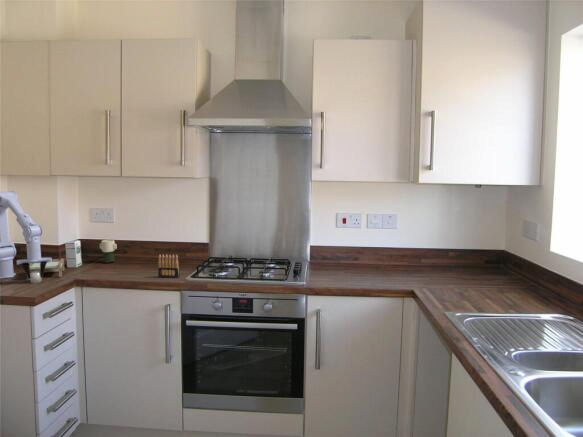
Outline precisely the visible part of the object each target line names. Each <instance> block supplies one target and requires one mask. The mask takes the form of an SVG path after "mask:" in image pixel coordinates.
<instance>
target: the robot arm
mask: <svg viewBox="0 0 583 437" xmlns="http://www.w3.org/2000/svg"><path fill="white" fill-rule="evenodd" d="M8 208H9V209H10V210H11V212H12V213H13V214H14V215H15V216H16V218H15V219H16V222H17V224H18V225H19V226H20V227H21V229H22V235H23V237H24V241H25V242H26V244H25V245H26V256H27V258H23V259H17V260H16V265H21V266H22V268H23V270H24V271H25V273H26V277H27V276H28V279H29V278H30V272H31V269H30V263H40V268H41V278H43V277H44V273H45V272H44V269H45V266H46V264H47V262H52V257H42V252H41V239H40V238H41V236H42V235H43V228H42V227H41V224H38V223H36V222H35V221H34V220H33V218H31V216H30V215H29V214H28V213H25V212H24V210H23V208H22V207H21V204H19V196H18V194H17V193H16V192H15V191H14V190H12V191H11V190H10V191H0V279H10V278H14V277H15V276H16V275H17V274H16V272H15V271H14V260H15V257H16V254H17V249H16V247H15V246H16V245H15V243H14V242H13V241H11V240H10V238H9V236H10V235H9V228H8V218H7V209H8ZM13 259H14V260H13ZM37 261H38V262H37Z"/></svg>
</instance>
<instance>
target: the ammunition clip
mask: <svg viewBox="0 0 583 437" xmlns="http://www.w3.org/2000/svg"><path fill="white" fill-rule="evenodd" d="M179 264H180V263H179V256H178V254H173V253H172V255H171V254H169V255H168V254H167V253H166V254H165V255H164V253H162V255H161V253H160V254H159V255H158V278H163V279H164V278H166V279H167V278H169V279H179V278H180V277H181V275H180V267H179Z"/></svg>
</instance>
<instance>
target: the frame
mask: <svg viewBox="0 0 583 437" xmlns="http://www.w3.org/2000/svg"><path fill="white" fill-rule="evenodd" d="M59 261H60V262H59V264H58V267H55V268H45V269H44V273H51V272H52V273H53V272H58V277H59V278H62V277H63V272H64V271H65V258H63V257H62V258H60V259H59ZM33 264H34V263H30V267H31V266H32V265H33ZM30 270H31V272H32V271H41V269H31V268H30ZM26 280H27V281H30V278H29V279H28V276H27V275H26Z"/></svg>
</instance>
